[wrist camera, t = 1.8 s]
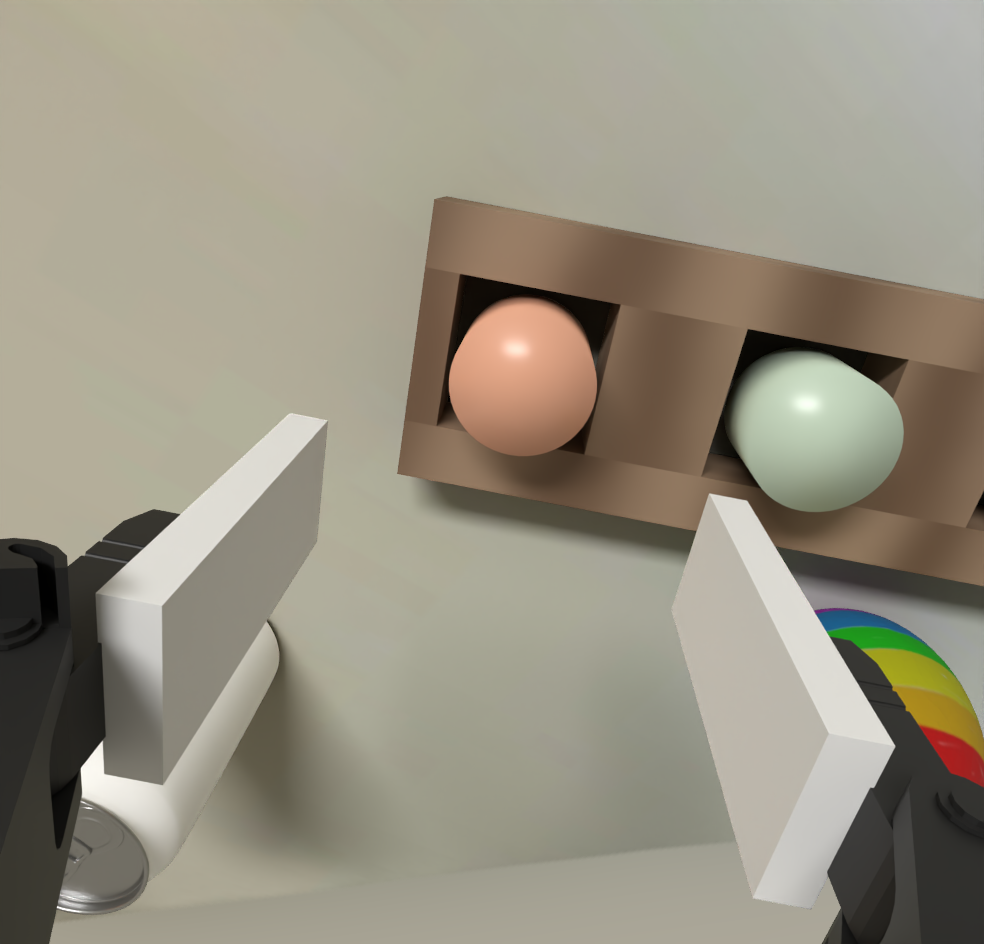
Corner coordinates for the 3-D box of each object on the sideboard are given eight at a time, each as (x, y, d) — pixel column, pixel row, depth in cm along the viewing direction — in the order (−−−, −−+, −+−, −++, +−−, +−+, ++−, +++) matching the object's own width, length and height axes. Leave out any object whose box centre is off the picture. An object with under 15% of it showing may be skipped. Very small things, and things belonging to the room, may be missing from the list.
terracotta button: (604, 308, 26) (612, 328, 22) (575, 431, 28) (578, 468, 24) (473, 282, 26) (461, 299, 22) (452, 408, 28) (438, 441, 24)
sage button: (878, 360, 26) (928, 389, 22) (830, 480, 28) (870, 523, 24) (746, 335, 26) (776, 359, 22) (707, 457, 28) (730, 497, 24)
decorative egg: (700, 628, 33) (759, 805, 24) (878, 552, 31) (1019, 714, 22) (772, 752, 35) (850, 957, 26) (941, 690, 33) (1092, 889, 24)
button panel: (1195, 339, 26) (1270, 359, 24) (1063, 571, 30) (1115, 611, 28) (446, 196, 27) (434, 199, 24) (411, 446, 30) (397, 473, 28)
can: (309, 646, 35) (198, 866, 24) (230, 716, 37) (93, 949, 26) (203, 559, 33) (32, 750, 22) (127, 637, 35) (-65, 848, 24)
